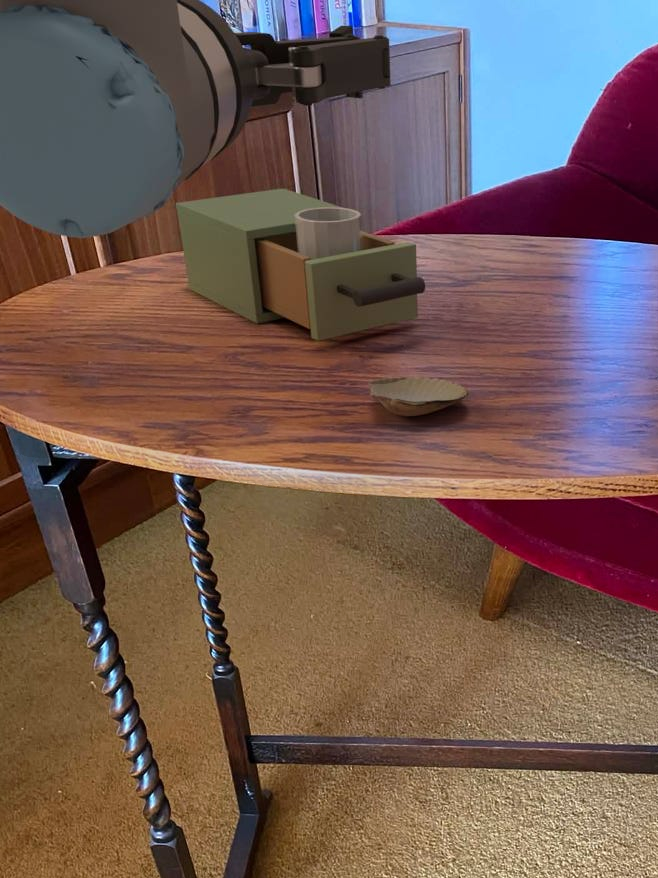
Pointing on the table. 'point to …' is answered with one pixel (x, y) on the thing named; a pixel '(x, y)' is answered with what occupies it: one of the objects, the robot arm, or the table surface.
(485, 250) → the table surface
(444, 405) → the seashell
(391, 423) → the table surface
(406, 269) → the drawer
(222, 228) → the cabinet
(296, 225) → the canister
